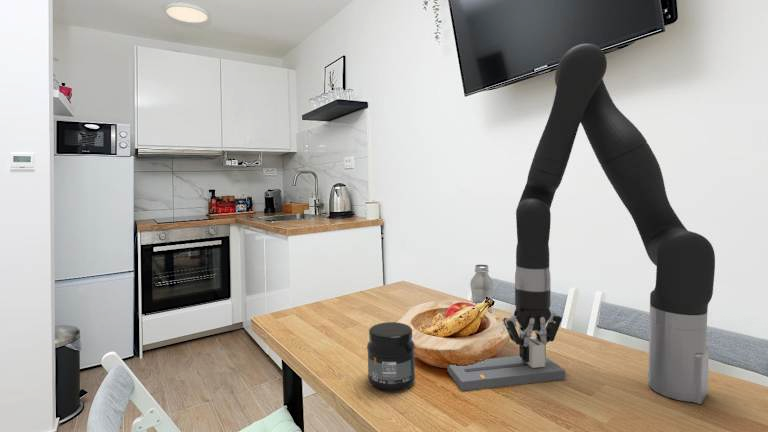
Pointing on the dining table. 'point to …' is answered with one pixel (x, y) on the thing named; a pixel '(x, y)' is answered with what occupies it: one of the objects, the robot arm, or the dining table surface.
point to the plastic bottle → (481, 285)
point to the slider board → (503, 373)
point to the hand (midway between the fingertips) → (532, 359)
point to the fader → (536, 353)
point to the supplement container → (391, 357)
